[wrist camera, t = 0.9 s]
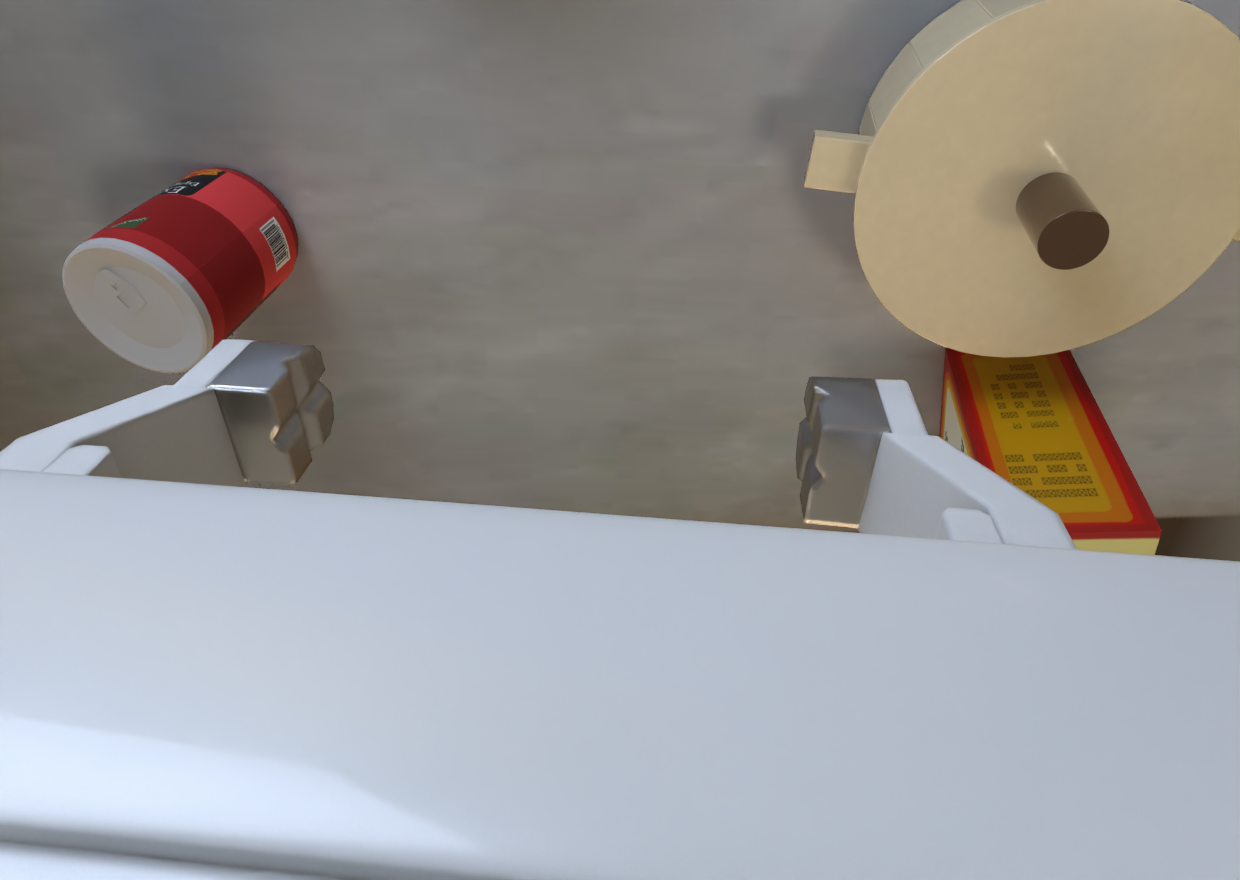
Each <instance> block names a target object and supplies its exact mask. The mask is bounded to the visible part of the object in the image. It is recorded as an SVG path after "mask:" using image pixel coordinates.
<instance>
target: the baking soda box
mask: <svg viewBox="0 0 1240 880" xmlns="http://www.w3.org/2000/svg"><path fill="white" fill-rule="evenodd" d="M939 437H940V438H942V439H943V440H945V441H946V442H948V443H949V444H951V445H952V446H954V447H956V448H957V449H959V450H960V451H962V452H963V453H965V454H966V455H968V456H969V457H971V458H973V459H974V460H976V461H977V462H979V463H980V464H982V465H983V466H985V467H987V468H988V469H990V470H991V471H993V472H994V473H996V474H997V475H999V476H1000V477H1002V478H1004V479H1005V480H1007V481H1008V482H1010V483H1011V484H1013V485H1014V486H1016V487H1017V488H1019V489H1021V490H1022V491H1024V492H1025V493H1027V494H1028V495H1030V496H1031V497H1033V498H1034V499H1036V500H1038V501H1039V502H1041V503H1042V504H1044V505H1045V506H1047V507H1048V508H1050V509H1052V510H1053V511H1055V512H1056V513H1058V514H1059V516H1060V518H1061V520H1062V522H1063V524H1064V526H1065V528H1066V529H1067V531H1068V533H1069V535H1070V537H1071V539H1072V541H1073V542H1074V544H1075V546H1076V548H1077V550H1091V551H1104V552H1118V553H1131V554H1144V555H1155V551H1156V548H1157V545H1158V542H1159V539H1160V535H1161V532H1162V531H1161V528H1160V527H1159V525H1158V523H1157V521H1156V519H1155V517H1154V515H1153V513H1152V511H1151V509H1150V507H1149V505H1148V503H1147V501H1146V499H1145V497H1144V495H1143V493H1142V491H1141V489H1140V487H1139V485H1138V483H1137V481H1136V479H1135V477H1134V475H1133V473H1132V471H1131V470H1130V468H1129V466H1128V464H1127V462H1126V460H1125V458H1124V456H1123V454H1122V452H1121V450H1120V448H1119V446H1118V444H1117V442H1116V440H1115V438H1114V436H1113V434H1112V432H1111V430H1110V428H1109V426H1108V424H1107V422H1106V420H1105V419H1104V417H1103V415H1102V413H1101V411H1100V409H1099V407H1098V405H1097V403H1096V401H1095V399H1094V397H1093V395H1092V393H1091V391H1090V389H1089V387H1088V385H1087V383H1086V381H1085V379H1084V377H1083V375H1082V373H1081V371H1080V369H1079V368H1078V366H1077V364H1076V362H1075V360H1074V358H1073V356H1072V354H1071V352H1070V350H1066V351H1062V352H1057V353H1053V354H1047V355H1039V356H1030V357H1004V358H1003V357H991V356H980V355H975V354H970V353H965V352H960V351H957V350H954V349H951V348H947V349H945V361H944V376H943V391H942V406H941V421H940V436H939Z"/></svg>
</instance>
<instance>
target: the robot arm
mask: <svg viewBox="0 0 1240 880" xmlns="http://www.w3.org/2000/svg"><path fill="white" fill-rule="evenodd" d="M324 371H325V367H324V363H323V359H322V356H321V352H320V351H319V350H318V349H317V348H316V347H315V346H314V345H301V344H289V343H277V342H264V341H255V340H235V339H229V340H222V341H221V342H220V343H219V344H218V345H217V346H216V347H214V348H213V349H212V350H211V351H210V352H209V353H208V354H207V355H206V356H205V357H204V358H203V359H202V360H200V361H199V362H198V363H197V364H196V365H195V366H194V367H193V368H192V369H191V370H190V371H189V372H188V373H186V374H185V375H184V376H183V377H182V378H181V379H180V380H179V381H178V382H177V383H176V384H175V385H174V386H171V385H163V386H161V387H158V388H155V389H152V390H150V391H147V392H144V393H141V394H139V395H136V396H133V397H130V398H128V399H125V400H122V401H119V402H117V403H114V404H111V405H108V406H105V407H103V408H100V409H97V410H94V411H92V412H89V413H86V414H83V415H81V416H78V417H75V418H72V419H70V420H67V421H64V422H61V423H59V424H56V425H53V426H50V427H47V428H45V429H42V430H39V431H36V432H34V433H31V434H28V435H25V436H23V437H20V438H17V439H16V440H15V441H14V442H12V443H11V444H10V445H9V446H8V447H6V448H5V449H4V450H3V451H1V452H0V880H1240V562H1236V561H1223V560H1210V559H1197V558H1184V557H1170V556H1157V555H1144V554H1131V553H1118V552H1104V551H1091V550H1077V548H1076V546H1075V544H1074V542H1073V541H1072V539H1071V537H1070V535H1069V533H1068V531H1067V529H1066V528H1065V526H1064V524H1063V522H1062V520H1061V518H1060V516H1059V514H1058V513H1056V512H1055V511H1053V510H1052V509H1050V508H1048V507H1047V506H1045V505H1044V504H1042V503H1041V502H1039V501H1038V500H1036V499H1034V498H1033V497H1031V496H1030V495H1028V494H1027V493H1025V492H1024V491H1022V490H1021V489H1019V488H1017V487H1016V486H1014V485H1013V484H1011V483H1010V482H1008V481H1007V480H1005V479H1004V478H1002V477H1000V476H999V475H997V474H996V473H994V472H993V471H991V470H990V469H988V468H987V467H985V466H983V465H982V464H980V463H979V462H977V461H976V460H974V459H973V458H971V457H969V456H968V455H966V454H965V453H963V452H962V451H960V450H959V449H957V448H956V447H954V446H952V445H951V444H949V443H948V442H946V441H945V440H943V439H942V438H940V437H939V436H929V435H928V432H927V430H926V427H925V425H924V422H923V420H922V417H921V415H920V412H919V410H918V407H917V405H916V402H915V399H914V397H913V394H912V392H911V389H910V387H909V384H908V382H906V381H905V380H887V379H863V378H836V377H809V380H808V383H807V386H806V391H805V397H804V403H805V410H806V416H807V417H805V418H804V419H803V420H802V421H801V422H800V425H799V431H798V438H797V448H796V470H797V478H798V479H799V480H801V481H802V487H801V492H800V500H801V506H802V513H803V519H804V523H812V524H822V525H832V526H842V527H852V528H858V531H859V532H860V533H850V532H837V531H824V530H810V529H797V528H783V527H770V526H757V525H743V524H730V523H716V522H703V521H690V520H676V519H663V518H649V517H636V516H622V515H609V514H596V513H582V512H569V511H555V510H542V509H529V508H515V507H502V506H489V505H475V504H462V503H449V502H435V501H422V500H409V499H395V498H382V497H369V496H355V495H342V494H329V493H315V492H302V491H289V490H275V489H262V488H249V487H243V486H244V485H245V483H267V484H288V485H296V483H297V482H298V480H299V479H300V477H301V476H302V474H303V473H304V472H305V470H306V469H307V467H308V466H309V464H310V463H311V462H312V458H311V454H310V451H311V450H313V449H315V448H317V447H319V446H321V445H323V444H324V442H325V441H326V439H327V438H328V436H329V435H330V432H331V428H332V424H333V419H334V409H333V401H332V396H331V392H330V391H329V390H328V389H327V388H326V387H325V386H324V385H323V384H322V383H321V382H320V380H319V379H320V377H321V376H322V374H323V372H324Z"/></svg>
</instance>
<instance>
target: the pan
mask: <svg viewBox="0 0 1240 880" xmlns="http://www.w3.org/2000/svg"><path fill="white" fill-rule="evenodd" d="M1033 1H1036V0H962V1H960V2H959V3H957V4H956V5H954V6H953V7H951V8H950V9H948V10H947V11H945V12H944V13H942V14H941V15H939V16H938V17H936V18H935V19H934V20H933V21H932V22H930V23H929V24H928V25H927V26H926V27H924V28H923V29H922V30H921V31H920V32H919V33H918V34H917V35H916V36H915V37H914V38H913V39H912V40H910V41H909V43H908V44H907V45H906V46H905V47H904V48H903V49H902V50H901V51H900V53H899V54H898V55H897V57H896V58H895V59H894V61H893V62H892V63H891V64H890V66H889V67H888V68H887V70H886V71H885V73H884V75H883V76H882V78H881V80H880V81H879V83H878V85H877V86H876V88H875V90H874V92H873V94H872V96H871V97H870V99H869V102H868V103H867V107H866V110H865V113H864V116H863V119H862V122H861V125H860V128H859V133H858V135H856V134H847V133H839V132H830V131H822V130H815V131H814V135H813V139H812V144H811V149H810V153H809V158H808V162H807V167H806V171H805V176H804V187H806V188H814V189H822V190H830V191H838V192H847V193H855V191H856V186H857V181H858V176H859V172H860V169H861V166H862V163H863V160H864V157H865V154H866V151H867V149H868V147H869V145H870V143H871V141H872V139H873V137H874V135H875V133H876V130H877V128H878V127H879V125H880V123H881V122H882V120H883V119H884V117H885V115H886V114H887V112H888V111H889V109H890V108H891V106H892V104H893V103H894V102H895V101H896V99H897V98H898V97H899V96H900V94H901V93H902V92H903V91H904V89H905V88H906V87H907V86H908V84H909V83H910V82H911V81H912V80H913V79H914V78H915V77H916V76H917V75H918V74H919V73H920V72H921V71H922V70H923V69H924V68H925V67H926V66H927V65H928V64H929V63H930V62H931V61H932V60H933V59H934V58H936V57H937V56H938V55H939V54H940V53H942V52H943V51H944V50H945V49H947V48H948V47H949V46H950V45H952V44H953V43H954V42H955V41H957V40H958V39H960V38H961V37H963V36H965V35H966V34H968V33H969V32H971V31H972V30H974V29H975V28H977V27H979V26H980V25H982V24H983V23H985V22H987V21H989V20H991V19H993V18H995V17H997V16H999V15H1001V14H1003V13H1005V12H1007V11H1009V10H1011V9H1014V8H1017V7H1019V6H1022V5H1025V4H1028V3H1030V2H1033ZM1232 240H1235V241H1240V229H1239V231H1238V232H1237V233H1236V235H1235V236H1234V238H1233V239H1232Z"/></svg>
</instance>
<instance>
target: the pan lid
mask: <svg viewBox="0 0 1240 880" xmlns="http://www.w3.org/2000/svg"><path fill="white" fill-rule="evenodd" d="M853 224H854V235H855V244H856V248H857V252H858V256H859V260H860V264H861V266H862V269H863V271H864V274H865V276H866V278H867V281H868V283H869V284H870V286H871V288H872V289H873V291H874V293H875V294H876V296H877V297H878V299H879V300H880V301H881V302H882V304H883V305H884V306H885V307H886V308H887V309H888V311H889V312H890V313H891V314H892V315H893V316H895V317H896V318H897V319H898V320H899V321H900V322H901V323H903V324H904V325H905V326H906V327H908V328H909V329H911V330H912V331H914V332H916V333H917V334H919V335H920V336H922V337H924V338H926V339H928V340H930V341H932V342H935V343H937V344H939V345H941V346H944V347H947V348H951V349H954V350H957V351H960V352H965V353H970V354H975V355H980V356H991V357H1003V358H1004V357H1030V356H1039V355H1047V354H1053V353H1057V352H1062V351H1066V350H1071V349H1075V348H1078V347H1081V346H1084V345H1088V344H1091V343H1094V342H1097V341H1100V340H1102V339H1104V338H1107V337H1109V336H1111V335H1114V334H1116V333H1119V332H1121V331H1123V330H1125V329H1127V328H1129V327H1131V326H1132V325H1134V324H1136V323H1138V322H1140V321H1142V320H1144V319H1146V318H1147V317H1149V316H1150V315H1152V314H1153V313H1155V312H1156V311H1158V310H1159V309H1161V308H1163V307H1164V306H1166V305H1167V304H1169V303H1170V302H1171V301H1172V300H1174V299H1175V298H1176V297H1177V296H1179V295H1180V294H1181V293H1182V292H1184V291H1185V290H1186V289H1188V288H1189V287H1190V286H1191V285H1192V284H1193V283H1194V282H1195V281H1196V280H1197V279H1198V278H1199V277H1200V276H1201V275H1202V274H1204V273H1205V272H1206V271H1207V270H1208V269H1209V268H1210V267H1211V265H1212V264H1213V263H1214V262H1215V261H1216V260H1217V258H1218V257H1219V256H1220V255H1221V254H1222V253H1223V251H1224V250H1225V249H1226V248H1227V247H1228V245H1229V244H1230V242H1231V241H1232V239H1233V238H1234V236H1235V235H1236V233H1237V232H1238V231H1239V229H1240V39H1239V38H1238V36H1237V35H1236V34H1235V33H1234V32H1232V31H1231V30H1230V29H1229V28H1228V27H1227V26H1225V25H1224V24H1223V23H1222V22H1221V21H1219V20H1218V19H1217V18H1216V17H1214V16H1212V15H1210V14H1209V13H1207V12H1205V11H1203V10H1201V9H1200V8H1198V7H1196V6H1194V5H1192V4H1191V3H1189V2H1186V1H1183V0H1036V1H1033V2H1030V3H1028V4H1025V5H1022V6H1019V7H1017V8H1014V9H1011V10H1009V11H1007V12H1005V13H1003V14H1001V15H999V16H997V17H995V18H993V19H991V20H989V21H987V22H985V23H983V24H982V25H980V26H979V27H977V28H975V29H974V30H972V31H971V32H969V33H968V34H966V35H965V36H963V37H961V38H960V39H958V40H957V41H955V42H954V43H953V44H952V45H950V46H949V47H948V48H947V49H945V50H944V51H943V52H942V53H940V54H939V55H938V56H937V57H936V58H934V59H933V60H932V61H931V62H930V63H929V64H928V65H927V66H926V67H925V68H924V69H923V70H922V71H921V72H920V73H919V74H918V75H917V76H916V77H915V78H914V79H913V80H912V81H911V82H910V83H909V84H908V86H907V87H906V88H905V89H904V91H903V92H902V93H901V94H900V96H899V97H898V98H897V99H896V101H895V102H894V103H893V104H892V106H891V108H890V109H889V111H888V112H887V114H886V115H885V117H884V119H883V120H882V122H881V123H880V125H879V127H878V128H877V130H876V133H875V135H874V137H873V139H872V141H871V143H870V145H869V147H868V149H867V151H866V154H865V157H864V160H863V163H862V166H861V169H860V172H859V176H858V181H857V186H856V191H855V197H854V213H853Z"/></svg>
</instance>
